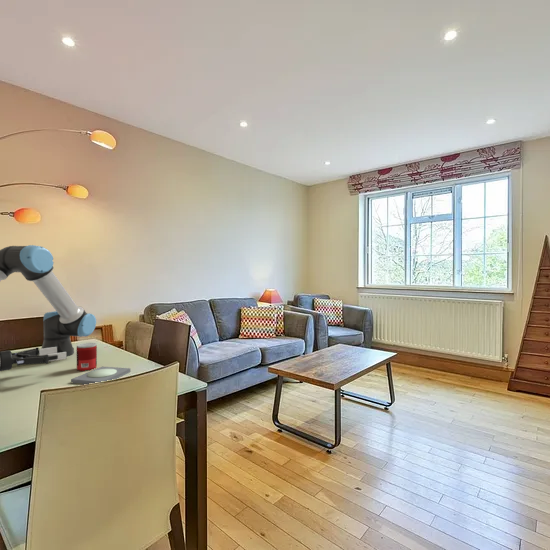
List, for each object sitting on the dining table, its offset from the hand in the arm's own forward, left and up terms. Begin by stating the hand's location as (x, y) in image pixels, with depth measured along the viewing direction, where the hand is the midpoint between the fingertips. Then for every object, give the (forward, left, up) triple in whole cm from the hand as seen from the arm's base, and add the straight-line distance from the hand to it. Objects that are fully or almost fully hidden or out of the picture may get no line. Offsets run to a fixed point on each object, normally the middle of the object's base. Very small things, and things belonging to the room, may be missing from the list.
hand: (61, 352), depth 146 cm
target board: (0, +20, -9) cm, 22 cm away
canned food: (-9, +5, -9) cm, 14 cm away
